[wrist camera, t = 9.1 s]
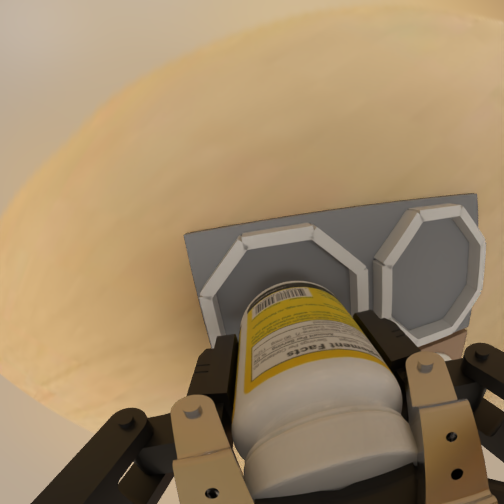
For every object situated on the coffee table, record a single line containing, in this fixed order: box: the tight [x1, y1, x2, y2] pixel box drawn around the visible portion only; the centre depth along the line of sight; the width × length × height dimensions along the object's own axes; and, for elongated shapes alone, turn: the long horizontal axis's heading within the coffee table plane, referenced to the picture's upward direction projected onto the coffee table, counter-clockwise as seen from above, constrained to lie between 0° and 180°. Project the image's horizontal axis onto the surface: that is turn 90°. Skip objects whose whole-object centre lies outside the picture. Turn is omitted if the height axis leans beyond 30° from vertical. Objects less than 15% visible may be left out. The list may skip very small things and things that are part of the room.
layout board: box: [184, 193, 486, 361], centre depth 11 cm, size 18×19×9 cm
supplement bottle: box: [232, 281, 418, 503], centre depth 8 cm, size 5×5×8 cm
